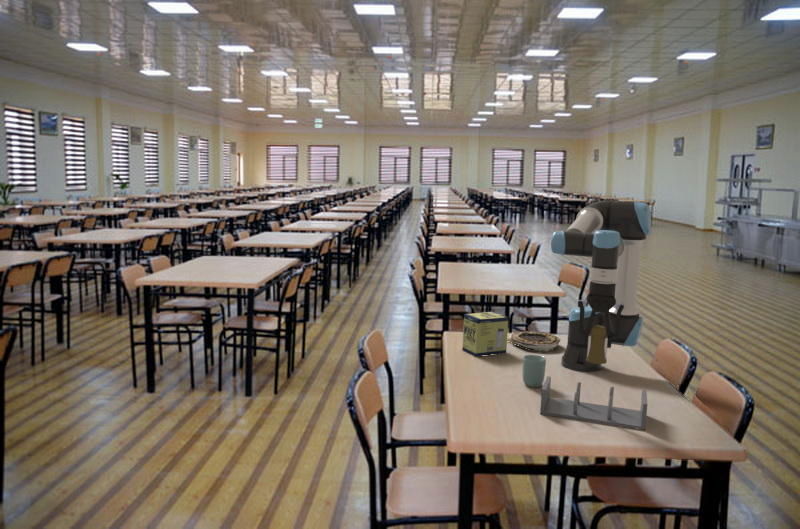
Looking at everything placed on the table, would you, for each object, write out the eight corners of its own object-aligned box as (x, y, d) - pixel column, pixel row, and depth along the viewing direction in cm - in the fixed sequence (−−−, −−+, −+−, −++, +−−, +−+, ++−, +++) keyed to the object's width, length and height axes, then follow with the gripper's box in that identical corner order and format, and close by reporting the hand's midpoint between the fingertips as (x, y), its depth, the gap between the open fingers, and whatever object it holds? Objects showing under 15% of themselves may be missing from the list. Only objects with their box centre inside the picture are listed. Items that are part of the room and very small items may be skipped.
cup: (544, 390, 222) (546, 362, 221) (521, 387, 224) (523, 359, 222) (543, 383, 230) (545, 355, 228) (521, 380, 231) (523, 353, 230)
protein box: (461, 350, 268) (463, 313, 266) (492, 347, 275) (494, 311, 273) (475, 357, 259) (477, 319, 257) (507, 353, 266) (509, 316, 264)
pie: (567, 341, 290) (567, 331, 289) (569, 359, 263) (570, 347, 263) (503, 336, 296) (504, 325, 295) (500, 353, 269) (500, 341, 268)
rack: (540, 414, 200) (541, 389, 198) (545, 399, 213) (547, 376, 212) (644, 430, 190) (647, 404, 189) (644, 414, 203) (646, 389, 202)
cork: (590, 363, 195) (593, 328, 194) (583, 358, 201) (585, 323, 200) (609, 364, 196) (612, 328, 194) (601, 358, 202) (604, 323, 200)
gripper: (572, 280, 195) (566, 356, 198) (633, 286, 189) (626, 363, 192) (574, 277, 202) (569, 350, 205) (633, 282, 196) (626, 357, 199)
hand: (596, 356), depth 199 cm, fingers closed on cork, 4 cm apart
